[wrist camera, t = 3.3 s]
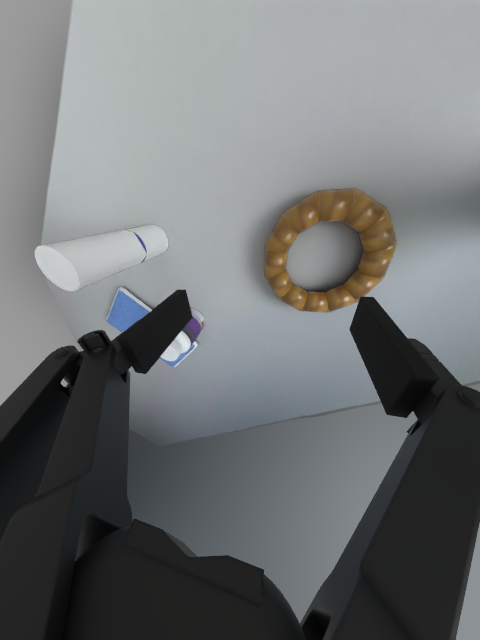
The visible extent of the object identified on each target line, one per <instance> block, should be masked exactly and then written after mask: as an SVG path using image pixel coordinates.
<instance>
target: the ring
mask: <svg viewBox="0 0 480 640" xmlns="http://www.w3.org/2000/svg"><path fill="white" fill-rule="evenodd" d="M330 221H342V222H343V223H345V224H347V225H348V226H350V227H351V228H353V229H355V230H356V231H358V234H359V237H360V240H361V243H362V246H363V249H364V250H363V253H362V257H361V260H360V263H359V267H358V269H357V270H356V271H355V272H354V274H353V275H352V276H351V277H350V278H349V279H348V280H347V281H346V282H345V283H344V284H342V285H340V286H338V287H335V288H333V289H330V290H328V291H326V292H317V291H306V290H304V289H302V288H301V287H299V286H297V285H296V284H294V283H293V282H292V280H291V278H290V276H289V274H288V272H287V270H286V262H287V251H288V250H289V248H290V247H291V245H292V244H293V242H294V240H295V239H296V237H297V236H298V234H300V233H301V232H303V231H304V230H306V229H308V228H309V227H311V226H313V225H314V224H316V223H318V222H330ZM396 245H397V241H396V237H395V233H394V229H393V225H392V221H391V217H390V213H389V210H388V209H387V207H385V206H384V205H382V204H381V203H379V202H378V201H376V200H375V199H373V198H372V197H370V196H368V195H367V194H365V193H364V192H362V191H361V190H359V189H356V188H348V189H337V190H325V191H317V192H314V193H312V194H311V195H309V196H308V197H306V198H305V199H303V200H302V201H300V202H299V203H298V204H296V205H295V206H293V207H292V208H290V209H289V210H287V211H286V212H285V213H283V214H282V215H281V217H280V218H279V220H278V222H277V224H276V226H275V227H274V229H273V231H272V233H271V235H270V237H269V238H268V240H267V242H266V244H265V249H264V275H265V277H266V279H267V281H268V283H269V284H270V286H271V288H272V290H273V291H274V293H275V295H276V296H277V298H278V299H280V300H282V301H283V302H285V303H287V304H289V305H290V306H292V307H294V308H296V309H297V310H300V311H309V312H331V311H334V310H337V309H339V308H342V307H345V306H348V305H351V304H353V303H356V302H358V301H359V300H360V297H364V296H365V295H366V294H367V293H368V292H369V291H370V290H371V289H373V288H374V287H375V286H376V285H377V284H378V283H379V282H380V281H381V280H382V279H383V278H384V276H385V274H386V271H387V269H388V266H389V264H390V261H391V259H392V256H393V253H394V251H395V248H396Z"/></svg>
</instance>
